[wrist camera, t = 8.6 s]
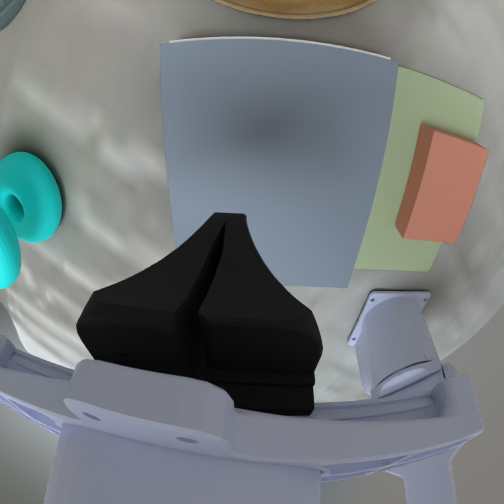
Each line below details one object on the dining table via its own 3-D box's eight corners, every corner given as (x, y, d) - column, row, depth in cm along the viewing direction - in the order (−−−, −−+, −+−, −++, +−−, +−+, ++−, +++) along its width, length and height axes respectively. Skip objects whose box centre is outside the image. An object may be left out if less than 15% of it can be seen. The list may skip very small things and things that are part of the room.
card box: (402, 238, 20) (394, 224, 22) (455, 243, 20) (445, 230, 22) (433, 131, 15) (420, 123, 16) (488, 150, 15) (474, 141, 16)
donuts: (-60, 234, 13) (-50, 174, 10) (-5, 183, 21) (27, 127, 18) (-4, 306, 18) (21, 274, 15) (42, 245, 26) (83, 203, 23)
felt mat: (427, 269, 25) (428, 271, 25) (346, 265, 25) (347, 268, 25) (482, 99, 14) (485, 100, 14) (388, 63, 14) (391, 63, 14)
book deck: (343, 265, 25) (349, 287, 23) (189, 256, 26) (181, 278, 23) (383, 59, 14) (402, 60, 12) (175, 44, 15) (160, 41, 12)
